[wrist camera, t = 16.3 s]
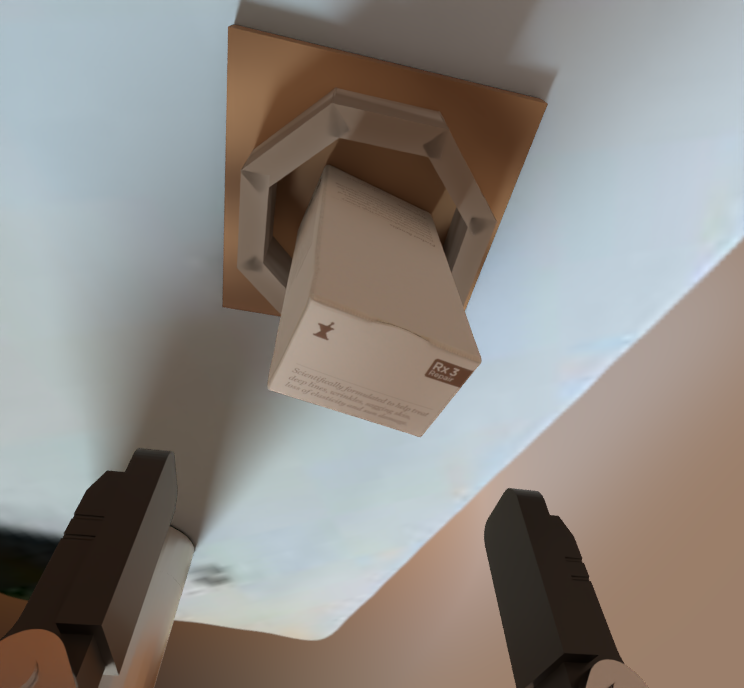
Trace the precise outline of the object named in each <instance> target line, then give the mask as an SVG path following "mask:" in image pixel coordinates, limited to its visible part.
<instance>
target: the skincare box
mask: <svg viewBox="0 0 744 688" xmlns="http://www.w3.org/2000/svg"><path fill="white" fill-rule="evenodd" d="M480 363H481V356H480V353H479V351H478V348H477V345H476V342H475V339H474V337H473V334H472V331H471V328H470V325H469V322H468V319H467V316H466V314H465V311H464V308H463V305H462V302H461V299H460V296H459V294H458V291H457V288H456V285H455V282H454V279H453V276H452V273H451V271H450V268H449V265H448V262H447V259H446V256H445V253H444V250H443V248H442V245H441V242H440V239H439V236H438V233H437V230H436V227H435V224H434V221H433V218H432V216H431V214H430V213H428V212H426V211H424V210H422V209H420V208H418V207H416V206H414V205H412V204H410V203H407V202H405V201H403V200H401V199H399V198H397V197H395V196H393V195H391V194H389V193H387V192H385V191H383V190H381V189H379V188H376V187H374V186H372V185H370V184H368V183H366V182H364V181H362V180H360V179H358V178H356V177H354V176H352V175H350V174H348V173H346V172H343V171H341V170H339V169H337V168H335V167H333V166H331V165H326V166H325V168H324V170H323V172H322V175H321V177H320V179H319V182H318V184H317V186H316V188H315V191H314V193H313V195H312V198H311V200H310V202H309V205H308V207H307V209H306V212H305V214H304V217H303V219H302V221H301V224H300V226H299V229H298V232H297V238H296V244H295V249H294V253H293V259H292V264H291V268H290V273H289V278H288V282H287V288H286V293H285V298H284V303H283V308H282V312H281V317H280V322H279V327H278V332H277V337H276V343H275V350H274V354H273V358H272V362H271V366H270V371H269V376H268V383H267V387H268V389H269V390H271V391H274V392H277V393H281V394H284V395H287V396H290V397H294V398H297V399H300V400H303V401H307V402H310V403H313V404H316V405H319V406H323V407H326V408H329V409H332V410H335V411H339V412H342V413H345V414H348V415H351V416H355V417H358V418H361V419H364V420H367V421H371V422H374V423H377V424H381V425H384V426H387V427H390V428H393V429H396V430H399V431H402V432H406V433H409V434H412V435H415V436H417V437H421V436H422V435H423V434H424V433H425V431H426V430H427V429H428V428H429V426H430V425H431V424H432V423H433V422H434V420H435V419H436V418H437V417H438V416H439V414H440V413H441V412H442V410H443V409H444V408H445V407H446V405H447V404H448V403H449V402H450V400H451V399H452V398H453V397H454V395H455V394H456V393H457V392H458V390H459V389H460V388H461V387H462V385H463V384H464V383H465V382H466V380H467V379H468V378H469V377H470V375H471V374H472V373H473V372H474V371H475V369H476V368H477V367H478V366H479V365H480Z"/></svg>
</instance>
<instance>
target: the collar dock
mask: <svg viewBox="0 0 744 688" xmlns="http://www.w3.org/2000/svg"><path fill="white" fill-rule="evenodd" d="M546 107H547V103H546V102H545V101H543V100H542V99H540V98H535V97H531V96H527V95H523V94H519V93H515V92H511V91H507V90H502V89H498V88H494V87H490V86H486V85H482V84H478V83H474V82H469V81H465V80H461V79H457V78H453V77H449V76H445V75H441V74H436V73H432V72H428V71H424V70H420V69H416V68H412V67H408V66H404V65H399V64H395V63H391V62H387V61H383V60H379V59H375V58H371V57H366V56H362V55H358V54H354V53H350V52H346V51H342V50H338V49H333V48H329V47H325V46H321V45H317V44H313V43H309V42H305V41H300V40H296V39H292V38H288V37H284V36H280V35H276V34H272V33H268V32H263V31H259V30H255V29H251V28H247V27H243V26H239V25H235V24H233V25H231V26H229V27H228V64H227V113H226V162H225V211H224V259H223V307H226V308H232V309H238V310H244V311H250V312H256V313H262V314H268V315H275V316H281V312H282V308H283V303H284V298H285V293H286V288H287V282H288V278H289V273H290V268H291V264H292V259H293V253H294V249H295V244H296V238H297V232H298V229H299V226H300V224H301V221H302V219H303V217H304V214H305V212H306V209H307V207H308V205H309V202H310V200H311V198H312V195H313V193H314V191H315V188H316V186H317V184H318V182H319V179H320V177H321V175H322V172H323V170H324V168H325V166H326V165H331V166H333V167H335V168H337V169H339V170H341V171H343V172H346V173H348V174H350V175H352V176H354V177H356V178H358V179H360V180H362V181H364V182H366V183H368V184H370V185H372V186H374V187H376V188H379V189H381V190H383V191H385V192H387V193H389V194H391V195H393V196H395V197H397V198H399V199H401V200H403V201H405V202H407V203H410V204H412V205H414V206H416V207H418V208H420V209H422V210H424V211H426V212H428V213H430V214H431V216H432V218H433V221H434V224H435V227H436V230H437V233H438V236H439V239H440V242H441V245H442V248H443V250H444V253H445V256H446V259H447V262H448V265H449V268H450V271H451V273H452V276H453V279H454V282H455V285H456V288H457V291H458V294H459V296H460V299H461V302H462V305H463V308H464V311H465V309H466V307H467V304H468V302H469V299H470V297H471V294H472V292H473V289H474V287H475V284H476V282H477V279H478V277H479V274H480V272H481V269H482V267H483V264H484V262H485V259H486V257H487V254H488V252H489V249H490V247H491V244H492V242H493V239H494V237H495V234H496V232H497V229H498V227H499V224H500V222H501V219H502V217H503V214H504V212H505V209H506V207H507V204H508V202H509V199H510V197H511V194H512V192H513V189H514V187H515V184H516V182H517V179H518V177H519V174H520V172H521V169H522V167H523V164H524V162H525V159H526V157H527V154H528V152H529V149H530V147H531V144H532V142H533V139H534V137H535V134H536V132H537V129H538V127H539V124H540V122H541V119H542V117H543V114H544V112H545V109H546Z"/></svg>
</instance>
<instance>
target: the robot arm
mask: <svg viewBox="0 0 744 688" xmlns="http://www.w3.org/2000/svg"><path fill="white" fill-rule="evenodd" d="M176 500H177V480H176V468H175V456H174V453H173V452H170V451H161V450H151V449H142V448H139V449H137V450H136V451H135V453H134V455H133V456H132V459H131V461H130V463H129V465H128V467H127V469H126V471H125V472H117V471H106V472H105V473H104V474H103V475H102V476H101V477H100V478H99V479H98V480H97V481H96V482H95V483H94V484H92V485H91V486H90V487H89V488H88V489H87V490H86V492H85V494H84V496H83V498H82V500H81V502H80V504H79V505H78V507H77V509H76V511H75V513H74V517H73V519H71V521H70V523H69V525H68V526H67V528H66V530H65V532H64V536H63V538H61V540H60V542H59V544H58V546H57V548H56V549H55V551H54V553H53V555H52V557H51V559H50V561H49V563H48V565H47V567H46V569H45V570H44V572H43V574H42V576H41V578H40V580H39V582H38V584H37V586H36V588H35V590H34V592H33V593H32V595H31V597H30V599H29V601H28V603H27V605H26V607H25V609H24V611H23V612H22V614H21V616H20V617H19V619H18V621H17V622H16V623H15V625H14V626H13V627H12V628H11V630H10V631H9V632H8V633H7V634H6V635H5V636H4V637H2V638H1V639H0V688H154V686H155V682H156V679H157V675H158V672H159V669H160V665H161V662H162V658H163V655H164V651H165V648H166V645H167V641H168V638H169V635H170V631H171V628H172V624H173V621H174V618H175V614H176V611H177V608H178V604H179V601H180V597H181V595H182V591H183V588H184V584H185V581H186V578H187V574H188V571H189V568H190V564H191V561H192V557H193V554H194V547H193V544H192V542H191V541H190V540H189V539H188V537H186V536H185V535H184V534H183V533H181V532H180V531H178V530H176V529H174V528H173V527H170V523H171V520H172V517H173V514H174V510H175V506H176ZM484 541H485V548H486V552H487V557H488V561H489V565H490V570H491V575H492V579H493V584H494V588H495V593H496V597H497V602H498V607H499V611H500V616H501V620H502V625H503V628H504V634H505V638H506V642H507V647H508V652H509V656H510V661H511V665H512V670H513V674H514V679H515V683H516V688H648V686H647V685H646V683H645V682H644V681H643V679H642V678H641V677H640V676H639V675H638V674H637V673H636V672H635V671H633V670H632V669H631V668H629V667H628V666H626V665H625V664H624V662H623V661H622V659H621V657H620V655H619V653H618V651H617V648H616V646H615V643H614V640H613V638H612V635H611V633H610V630H609V627H608V625H607V622H606V620H605V617H604V614H603V612H602V609H601V607H600V604H599V601H598V599H597V596H596V594H595V591H594V588H593V585H592V583H591V581H589V575H588V572H587V570H586V567H585V565H584V563H582V557H581V554H580V551H579V549H578V546H577V544H576V541H575V539H574V536H573V535H572V533H571V532H570V531H569V529H568V528H567V527H566V525H565V524H564V523H563V521H562V520H561V519H560V517H559V516H554V515H550V514H549V512H548V509H547V506H546V503H545V500H544V498H543V496H542V495H541V494H540V493H539V492H538V491H531V490H522V489H512V488H508V489H507V490H506V491H505V492H504V493H503V495H502V497H501V498H500V500H499V502H498V503H497V505H496V507H495V508H494V510H493V511H492V513H491V515H490V516H489V518H488V520H487V522H486V525H485V531H484Z"/></svg>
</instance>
